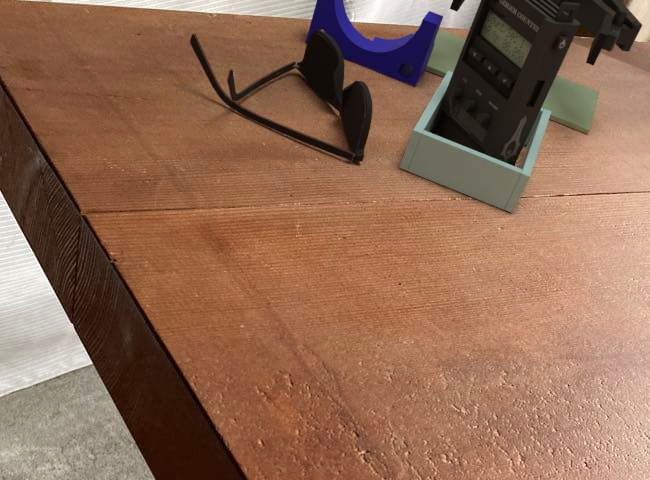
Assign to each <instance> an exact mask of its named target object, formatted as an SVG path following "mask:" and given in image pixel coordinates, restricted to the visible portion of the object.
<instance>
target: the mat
mask: <svg viewBox="0 0 650 480" xmlns="http://www.w3.org/2000/svg"><path fill="white" fill-rule="evenodd" d="M465 41H466V38H463V37H461V36H458V35H456V34H453V33H451V32H449V31H446V30H444V29H440V28H439V30H438V33H437V35H436V38H435V41H434V43H435V45H434V47H433V50H432V53H431V56H430V58H429V61H428V64H427V67H426V69H425V72H426V71H427V72H429V73H432V74H434V75H436V76H439V77H442V78H444V77H445V75H446V74H447V72H448V71H450V72H454V69H455V67H456V64H457V61H458V59H459V56H460V54H461V51H462V48H463V46H464V43H465ZM599 95H600V91H598V90H596V89H594V88H591V87H588V86H586V85H584V84H580V83H578V82H576V81H573V80H571V79H568V78H565V77H563V76H560V75H558V74H557V75H556V77H555V79H554V82H553V84H552V86H551V88H550V90H549V92H548V95H547V97H546V99H545V101H544V103H543V105H542V108H543V109H546V110H549V111H551V115H550V118H549V120H550V121H553V122H556V123H558V124H561V125H563V126H565V127H567V128H571V129H572V130H576V131H578V132H580V133H583V134H586V135H588V134H589V133H590V131H591V126H592V123H593V119H594V114H595V111H596V107H597V102H598V98H599Z"/></svg>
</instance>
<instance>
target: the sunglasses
mask: <svg viewBox="0 0 650 480" xmlns="http://www.w3.org/2000/svg"><path fill="white" fill-rule="evenodd" d="M189 44H190V46H191V48H192V50H193V52H194V54H195V56H196V58H197V60H198V62H199V64H200V66H201V68H202V69H203V71H204V74H205V75H206V77H207V79H208V81H209V83H210V85H211V88H212V89H214V91H215V93H216V94H217V95H218V97H219V98H220V100H221V101H222V102H224V103H225V104H226V106H227V107H230V108H231V110H234V111H236V112H237V113H239V114H240V115H243V116H244V117H247V118H248V119H251V120H252V121H254V122H256V123H258V124H261V125H263V126H265V127H267V128H270V129H271V130H273V131H276V132H278V133H281V134H283V135H286V136H288V137H290V138H292V139H294V140H297V141H299V142H302V143H304V144H307V145H309V146H312V147H314V148H317V149H320V150H322V151H325V152H327V153H330V154H333V155H334V156H336V157H337V156H338V157H340V158H343V159H345V160H348V161H353V160H354V162H363V160H364V159H365V148H366V144H367V142H368V137H369V134H370V130H371V125H372V119H373V98H372V95H371V92H370V89H369V87H368V85H367V84H366V82H364V80H363V81H362V80H354V81H353V82H351V83H350V84H349V85H347V86H345V87H344V83H345V82H344V81H345V60H344V59H345V58H343V54H342V51H341V49H340V47H339V46H338V44H337V43H336V41H335V40H334V39H333V38H332V37H331V36H330V35H329V34H327V33H326V32H325V31H324V30H321V31H318V30H316V31H314V32H313V33H312V34H311V35H310V38H309V40H308V43H306V45H305V48H304V54H303V57H302V60H300V61H297V62H296V61H292V62H290V63H287V64H285V65H283V66H281V67H278V68H276V69H274V70H272V71H271V72H269V73H267V74H265V75H263V76H262V77H260V78H258V79H257V80H256V81H254V82H252V83H251V84H249V85H248V86H246V87H244V89H242V90H241V91H238V92H237V90H236V84H235V83H236V82H235V77H234V76H235V75H234V70H233V69H231V68H230V69H229V71H228V75H227V78H226V82H227V86H228V91H229V95H230V96H228V95H227V93H226V92H225V91H224V89H223V88H222V87H221V84H220V83H219V81H218V79H217V78H216V76H215V73H214V71H213V69H212V67H211V64H210V62H209V60H208V58H207V55H206V54H205V52H204V48H203V47H202V45H201V43H200V40H199V38H198V36H197V34H196V33H192V34H191V36H190V39H189ZM295 69H296V70H297V71H298V72H299V73H300V74H301V75H302V76H303V78H304V80H305V81H306V82H307V83H308V85H309V86H310V87H311V89H312V90H313V91H314V92H315V94H317V95H318V96H319V97H320V98H321V99H323V100H324V101H325V102H326V103H327V104H329V105H330V106H331V107H333V108H334V109H335V110H336V111H337V112H338V114H339V118H340V121H341V124H342V127H343V131H344V133H345V138H346V141H347V144H348V147H349V149H350V150H347V149H344V148H342V147H339V146H337V145H334V144H332V143H330V142H326V141H323V140H321V139H319V138H316V137H314V136H311V135H309V134H306V133H303V132H302V131H298V130H296V129H293V128H292V127H289V126H286V125H283V124H282V123H279V122H276V121H274V120H272V119H270V118H268V117H265V116H262V115H260V114H258V113H256V112H254V111H252V110H250V109H248V108H246V107H244V106H243V105H241V104H240V103H238V102H239V101H240V100H241V99H243V98H245V97H246V96H248V95H249V94H250V93H252V92H253V91H255V90H257V89H258V88H260V87H261V86H264V85H265V84H267V83H268V82H270V81H273V80H275V79H277V78H278V77H280V76H282V75H285V74H287V73H289V72H291V71H293V70H295Z"/></svg>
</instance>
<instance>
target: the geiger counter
mask: <svg viewBox="0 0 650 480" xmlns="http://www.w3.org/2000/svg"><path fill="white" fill-rule="evenodd" d="M579 6H580V4H578V3H566V2H562V3H561V5H560V7H558V6H557V5H556V4H554V3H553V2H552V1H551V0H480V2H479V5H478V7H477V10H476V13H475V15H474V18H473V20H472V23H471V26H470V28H469V31H468V33H467V36H466V38H465V39H466V41H465V43H464V46H463V48H462V51H461V54H460V56H459V59H458V61H457V64H456V67H455V69H454V72H453V74H452V77H451V80H450V82H449V85H448V87H447V90H446V92H445V95H444V98H443V100H442V103H441V105H440V108H439V111H438V113H437V116H436V118H435V121H434V123H433V126H432V128H431V130H430V133H432V134H435V135H437V136H440V137H442V138H445V139H447V140H450V141H452V142H455V143H457V144H460V145H462V146H465V147H467V148H470V149H472V150H475V151H477V152H480V153H482V154H485V155H487V156H490V157H492V158H495V159H498V160H500V161H503V162H505V163H508V164H510V165H513V166H515V165H516V164H517V162H518V159H519V157H520V155H521V154H522V153H521V152H522V151H523V148H524V146H525V145H524V144H525V142H526V140H527V138H528V136H529V133H530V131H531V129H532V127H533V125H534V123H535V120H536V118H537V116H538V114H539V112H540V110H541V108H542V105H543V103H544V101H545V99H546V97H547V95H548V92H549V90H550V88H551V86H552V84H553V82H554V79H555V77H556V75H558V73H559V71H560V69H561V66H562V64H563V62H564V60H565V58H566V56H567V54H568V51H569V49H570V47H571V45H572V43H573V40H574V38H575V37H576V35H577V32H578V30H579V28H580V26H581V25H580V23H579V22H578V21H577V20H576V19H574V17H575V15H576V13H577V11H578V9H579ZM565 10H571V12H570V14H568V13H566V12H565ZM515 167H516V166H515Z"/></svg>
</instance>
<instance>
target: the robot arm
mask: <svg viewBox="0 0 650 480" xmlns="http://www.w3.org/2000/svg"><path fill="white" fill-rule="evenodd" d="M465 1H466V0H452V1H451V4H450V7H449V9H450V10H451V11H454V12H458V11H459V10H460V9H461V7H462V5H463V4H464V3H465ZM551 1H552V2H553V3H554V4H556V5H557V6H558V7H560V5H561V3H562V2H566V3H578V4H580V6H579V9H578V11H577V13H576V15H575V17H574V19H576V20H577V21H578V22H579V23H580V26H581V27H582V28H583V29H584V30H585V31H586V32H588V33H589V34H590V35H591V36H593V40H592V42H591V45H590V47H589V51H588V54H587V58H586V61H585V63H586V64H588V65H590V66H595V64H596V62H597V60H598V57H599V55H600V54H601V52H602V50H604V51H607V52H612V51H613V49H614V48H615V46H616V47H617V48H618V49H620V51H622V52H627V53H628V52H630V50H631V48H632V47H633V45H634V43H635V41H636V39H637V37H638V35H639V33H640V31H641V29H642V27H643V24H642V23H641V22H640V21H639V20H638V18H637V17H636V16H635V15H634V13H633V12H632V11H631V10H630V9H629V7H627V6H626V5H625V3H624V2H623V1H622V0H551ZM565 12H566V13H568V14H570V12H571V10H565Z"/></svg>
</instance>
